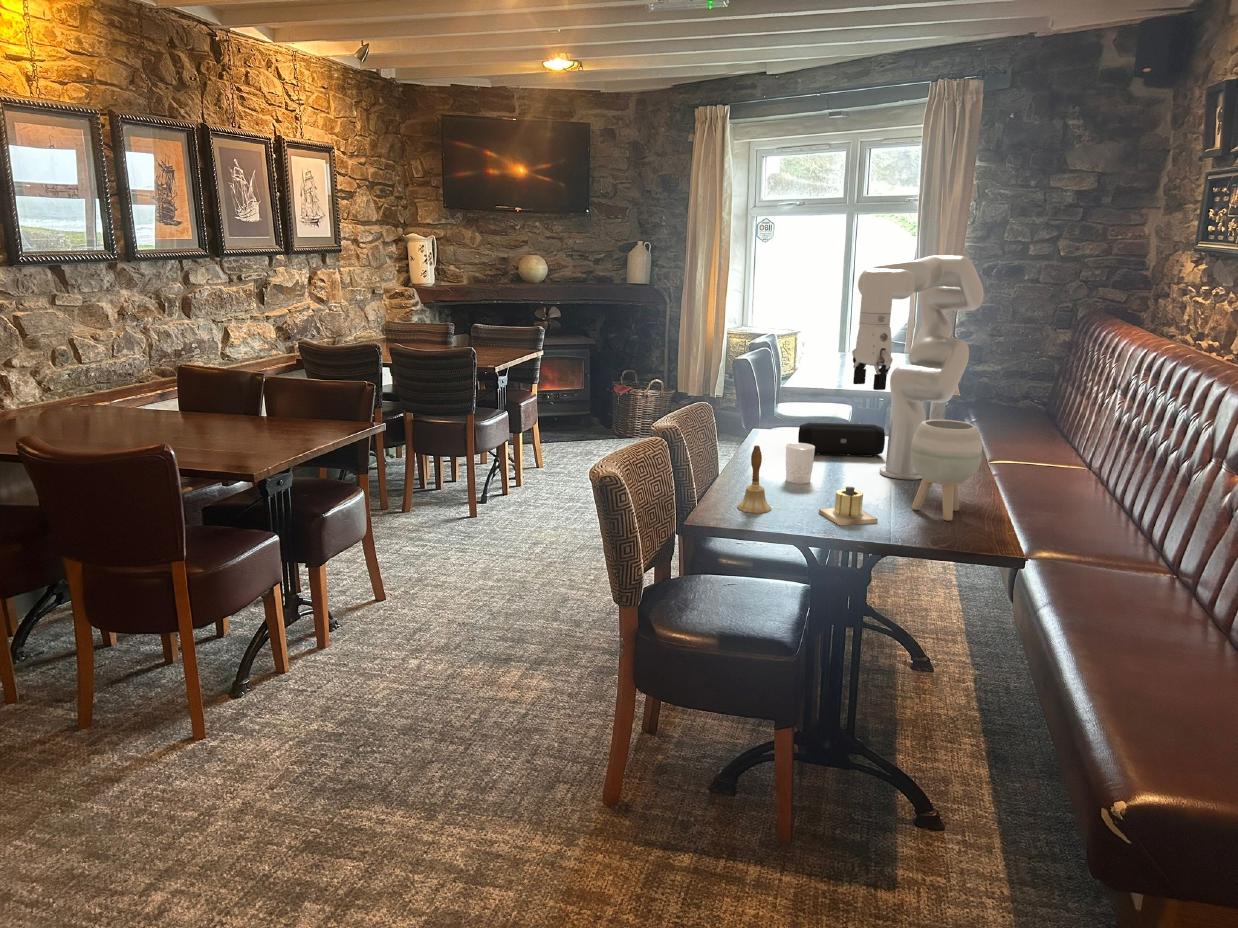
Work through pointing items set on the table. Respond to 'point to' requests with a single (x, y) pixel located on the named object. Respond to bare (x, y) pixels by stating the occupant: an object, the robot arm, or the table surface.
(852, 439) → the portable speaker
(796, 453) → the white cup
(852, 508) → the collar
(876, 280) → the robot arm
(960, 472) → the planter
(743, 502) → the hand bell
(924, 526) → the table surface
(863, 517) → the post stand
